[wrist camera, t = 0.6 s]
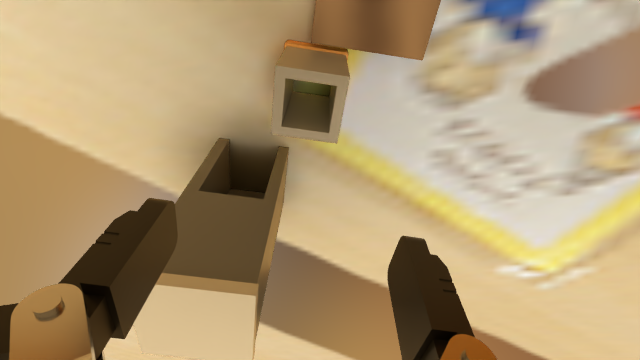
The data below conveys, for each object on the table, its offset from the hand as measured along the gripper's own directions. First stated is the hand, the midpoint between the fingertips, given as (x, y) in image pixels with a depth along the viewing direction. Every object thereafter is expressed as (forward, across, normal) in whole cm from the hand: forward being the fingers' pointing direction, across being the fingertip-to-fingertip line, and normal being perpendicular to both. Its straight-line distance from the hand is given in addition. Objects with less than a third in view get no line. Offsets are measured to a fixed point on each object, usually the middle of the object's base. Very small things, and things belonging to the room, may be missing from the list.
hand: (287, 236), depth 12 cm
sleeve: (+20, 0, 0) cm, 21 cm away
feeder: (+20, +5, +11) cm, 24 cm away
